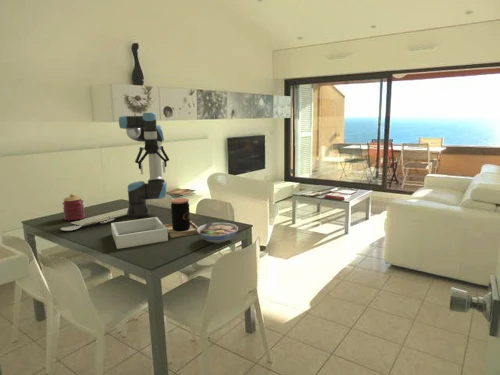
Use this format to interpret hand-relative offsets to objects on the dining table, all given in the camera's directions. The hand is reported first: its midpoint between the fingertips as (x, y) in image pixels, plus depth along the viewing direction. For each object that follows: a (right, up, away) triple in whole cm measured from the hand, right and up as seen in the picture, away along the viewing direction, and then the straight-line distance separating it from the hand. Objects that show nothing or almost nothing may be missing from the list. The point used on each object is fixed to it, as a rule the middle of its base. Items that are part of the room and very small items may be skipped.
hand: (153, 173), depth 224 cm
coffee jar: (+18, -34, -3) cm, 39 cm away
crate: (-5, -38, -14) cm, 40 cm away
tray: (+18, -35, -3) cm, 40 cm away
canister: (-62, -31, +28) cm, 74 cm away
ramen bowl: (+42, -39, -22) cm, 61 cm away
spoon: (-44, -34, +10) cm, 57 cm away
